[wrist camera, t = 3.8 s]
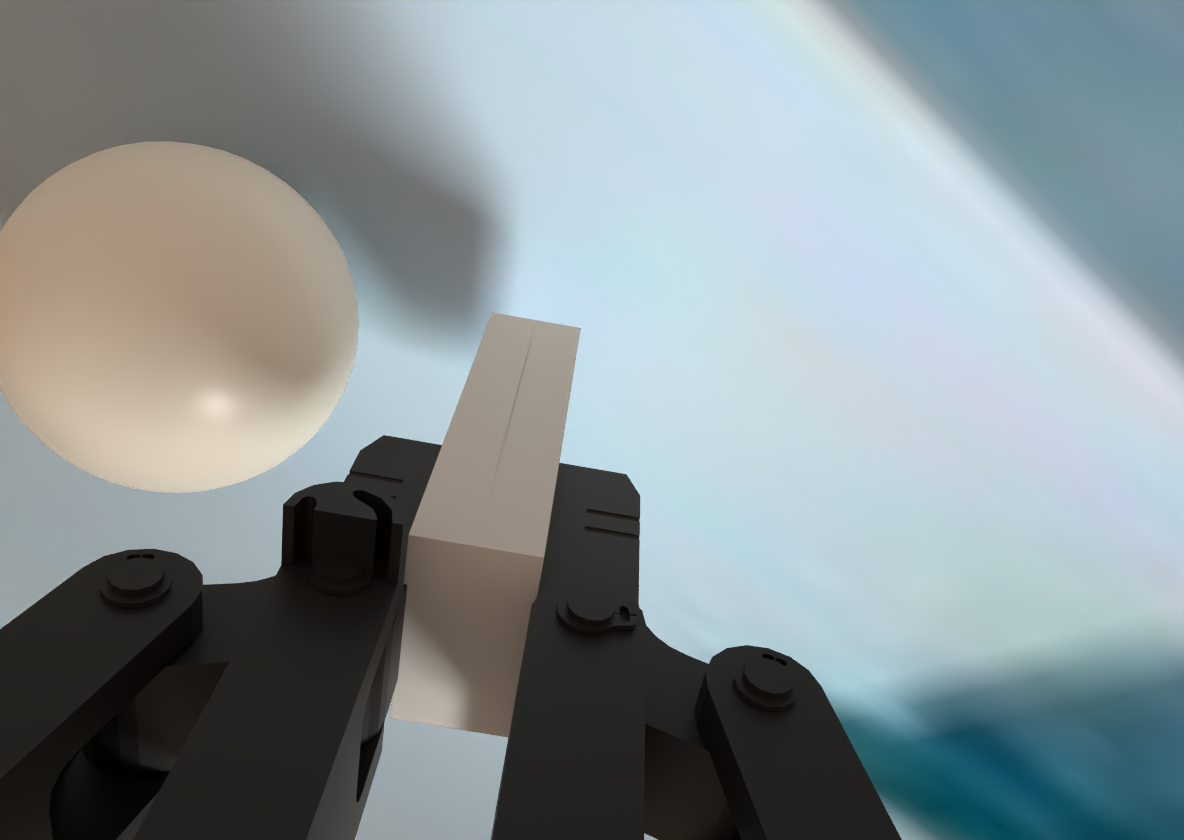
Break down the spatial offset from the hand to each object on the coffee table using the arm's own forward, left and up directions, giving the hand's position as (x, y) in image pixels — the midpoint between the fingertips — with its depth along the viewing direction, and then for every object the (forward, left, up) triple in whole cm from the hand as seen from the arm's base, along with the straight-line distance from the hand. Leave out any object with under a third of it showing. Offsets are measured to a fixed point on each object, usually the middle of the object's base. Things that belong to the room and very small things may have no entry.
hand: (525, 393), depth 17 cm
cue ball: (+2, +5, +1) cm, 6 cm away
